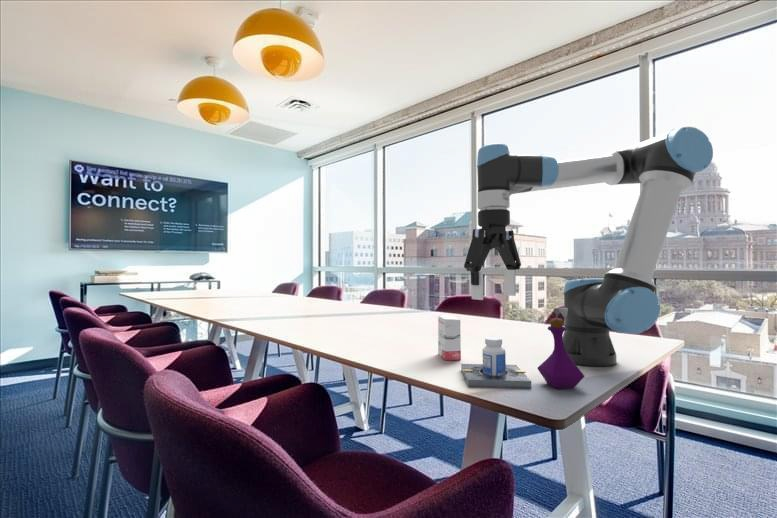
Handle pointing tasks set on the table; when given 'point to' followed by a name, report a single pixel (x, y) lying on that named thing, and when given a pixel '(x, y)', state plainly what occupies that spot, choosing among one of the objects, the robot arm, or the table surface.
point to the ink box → (449, 338)
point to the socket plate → (495, 377)
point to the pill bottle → (494, 357)
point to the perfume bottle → (560, 359)
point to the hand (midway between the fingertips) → (494, 297)
